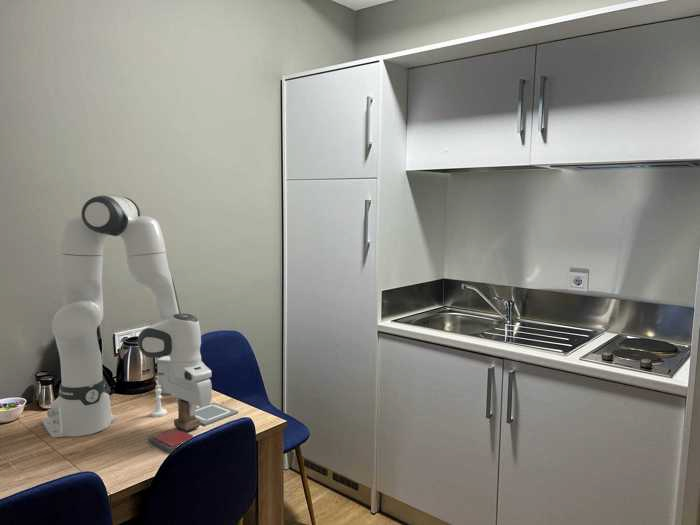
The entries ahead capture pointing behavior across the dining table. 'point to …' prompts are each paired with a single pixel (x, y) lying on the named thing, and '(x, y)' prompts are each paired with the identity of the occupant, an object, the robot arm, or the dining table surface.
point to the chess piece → (158, 404)
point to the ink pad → (169, 439)
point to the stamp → (185, 417)
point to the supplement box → (162, 370)
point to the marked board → (213, 413)
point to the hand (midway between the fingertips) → (186, 412)
